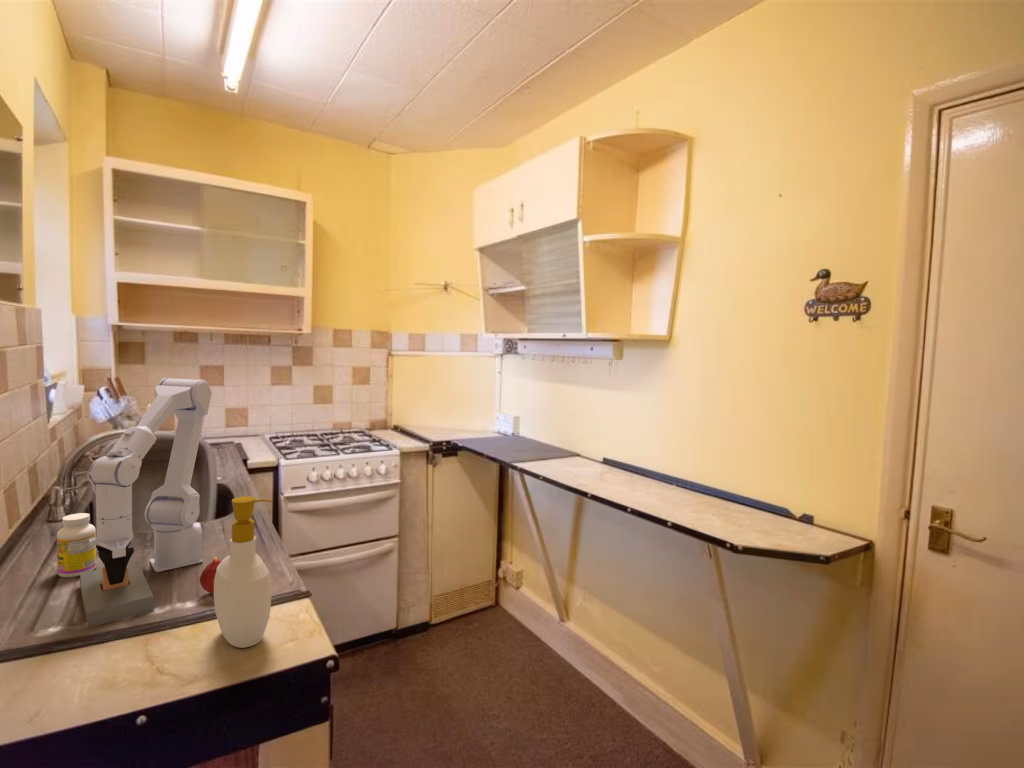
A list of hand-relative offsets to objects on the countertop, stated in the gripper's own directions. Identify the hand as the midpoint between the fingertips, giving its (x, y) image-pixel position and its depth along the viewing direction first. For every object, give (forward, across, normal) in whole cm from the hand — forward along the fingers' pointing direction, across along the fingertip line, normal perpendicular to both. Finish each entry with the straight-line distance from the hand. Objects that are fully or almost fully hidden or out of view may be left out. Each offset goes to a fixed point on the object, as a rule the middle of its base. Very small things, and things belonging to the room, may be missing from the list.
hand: (115, 579), depth 104 cm
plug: (+4, 0, 0) cm, 4 cm away
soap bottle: (+4, +30, +16) cm, 34 cm away
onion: (+4, +10, +16) cm, 19 cm away
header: (+4, 0, 0) cm, 4 cm away
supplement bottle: (+4, -19, -5) cm, 20 cm away
